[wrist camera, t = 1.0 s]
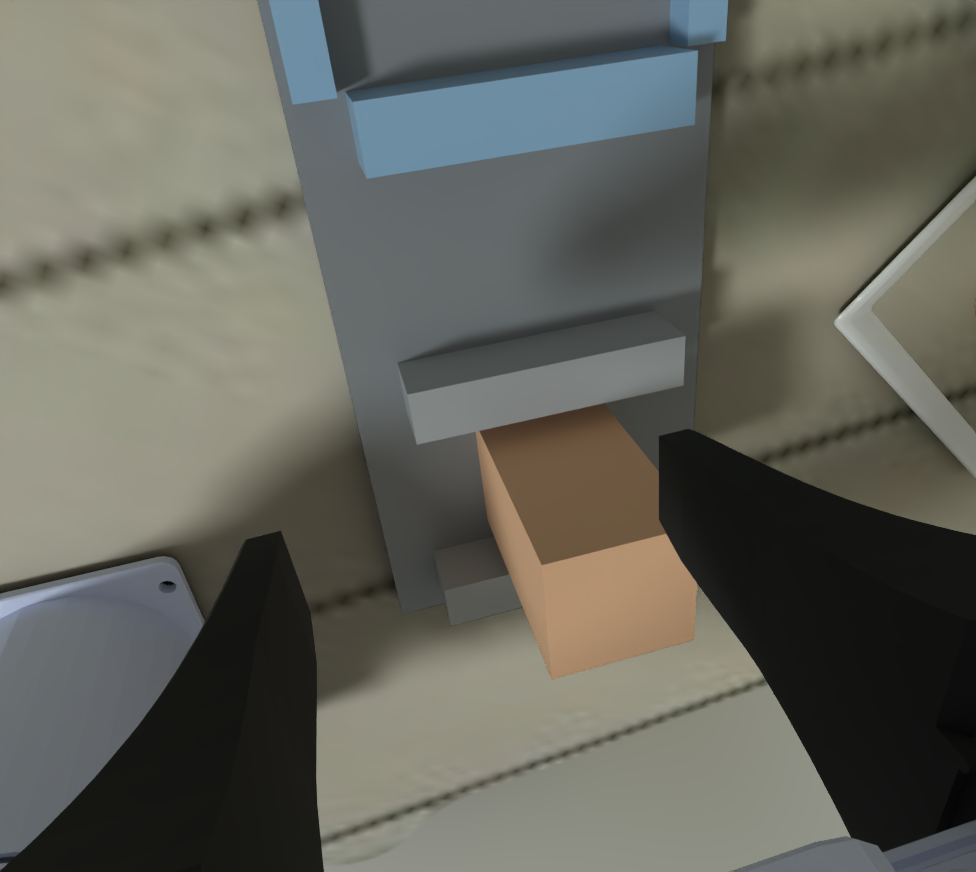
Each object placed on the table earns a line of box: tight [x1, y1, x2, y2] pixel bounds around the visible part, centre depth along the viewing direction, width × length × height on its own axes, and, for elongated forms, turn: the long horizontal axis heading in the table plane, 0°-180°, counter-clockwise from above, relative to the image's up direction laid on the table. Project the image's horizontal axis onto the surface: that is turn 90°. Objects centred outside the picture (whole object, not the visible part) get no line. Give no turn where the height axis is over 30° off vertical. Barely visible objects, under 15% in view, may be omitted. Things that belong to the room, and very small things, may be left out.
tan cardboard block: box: [476, 403, 697, 679], centre depth 21 cm, size 4×4×7 cm
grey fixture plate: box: [257, 0, 728, 626], centre depth 20 cm, size 25×11×3 cm, turn 7°
